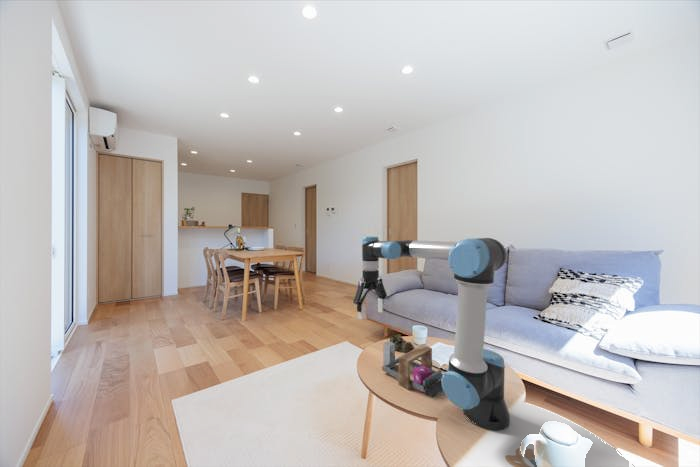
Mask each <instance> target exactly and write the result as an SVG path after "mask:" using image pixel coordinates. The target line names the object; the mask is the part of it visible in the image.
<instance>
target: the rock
mask: <svg viewBox="0 0 700 467" xmlns="http://www.w3.org/2000/svg"><path fill="white" fill-rule="evenodd" d="M389 341H390V342H392V343H395V352H396V351H399V352H400V353H407V352H409V351H411V350H413V349H415V346H414V345H413V343H412V342H411V341H406V340H404V338H403V337H402V335H401V334H395V335H394V334H393V335H392V336H391V337H389Z"/></svg>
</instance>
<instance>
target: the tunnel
mask: <svg viewBox="0 0 700 467" xmlns="http://www.w3.org/2000/svg"><path fill="white" fill-rule="evenodd" d="M398 358H399V363H398V373H399V379H398V386H400V387H402V388H403V389H405V390H408V391H409V390H410V389H411V385H410V379H411V365H410V363H411V362H413V361H414V362H416V360H418V359H420V364H421V365H424V366H426V367H428V368H430V369H433V348H432V347H429V346H427V345H424V344H421V345H419V346H416V347H414V348H413V349H412V350H409V351H408V352H405V353H403V354H402V355H399V356H398Z"/></svg>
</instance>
